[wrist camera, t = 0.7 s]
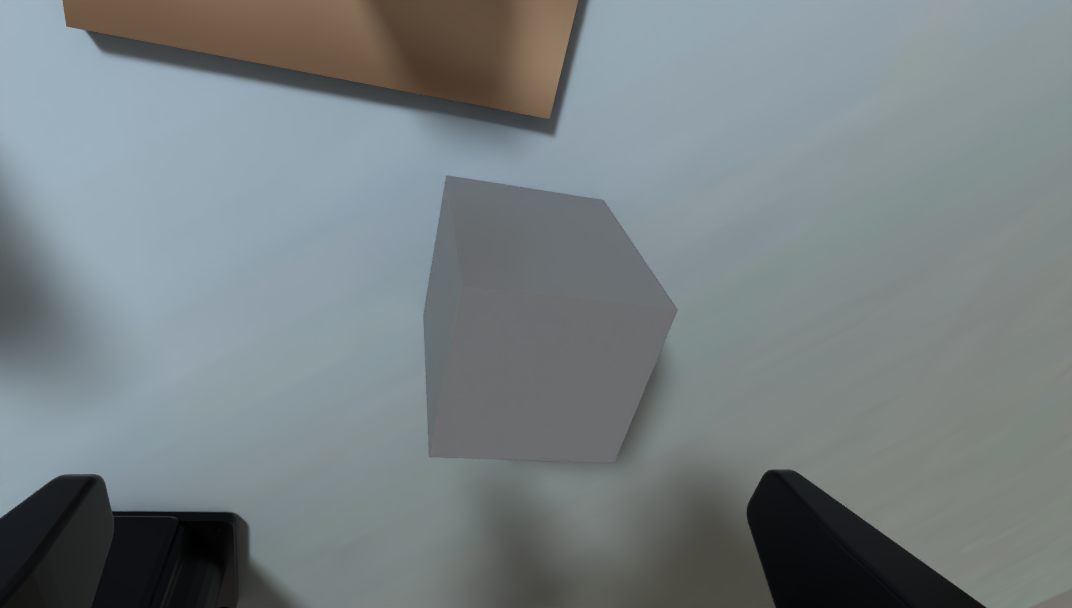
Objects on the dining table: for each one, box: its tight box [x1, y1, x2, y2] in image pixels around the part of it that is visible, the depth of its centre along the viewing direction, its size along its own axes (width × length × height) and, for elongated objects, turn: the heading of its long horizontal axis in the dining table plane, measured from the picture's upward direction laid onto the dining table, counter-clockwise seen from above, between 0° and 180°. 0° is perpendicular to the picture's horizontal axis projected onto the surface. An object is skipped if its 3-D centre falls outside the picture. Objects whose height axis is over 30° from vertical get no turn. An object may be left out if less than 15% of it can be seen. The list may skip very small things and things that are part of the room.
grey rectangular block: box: [423, 176, 678, 463], centre depth 18 cm, size 5×5×7 cm
